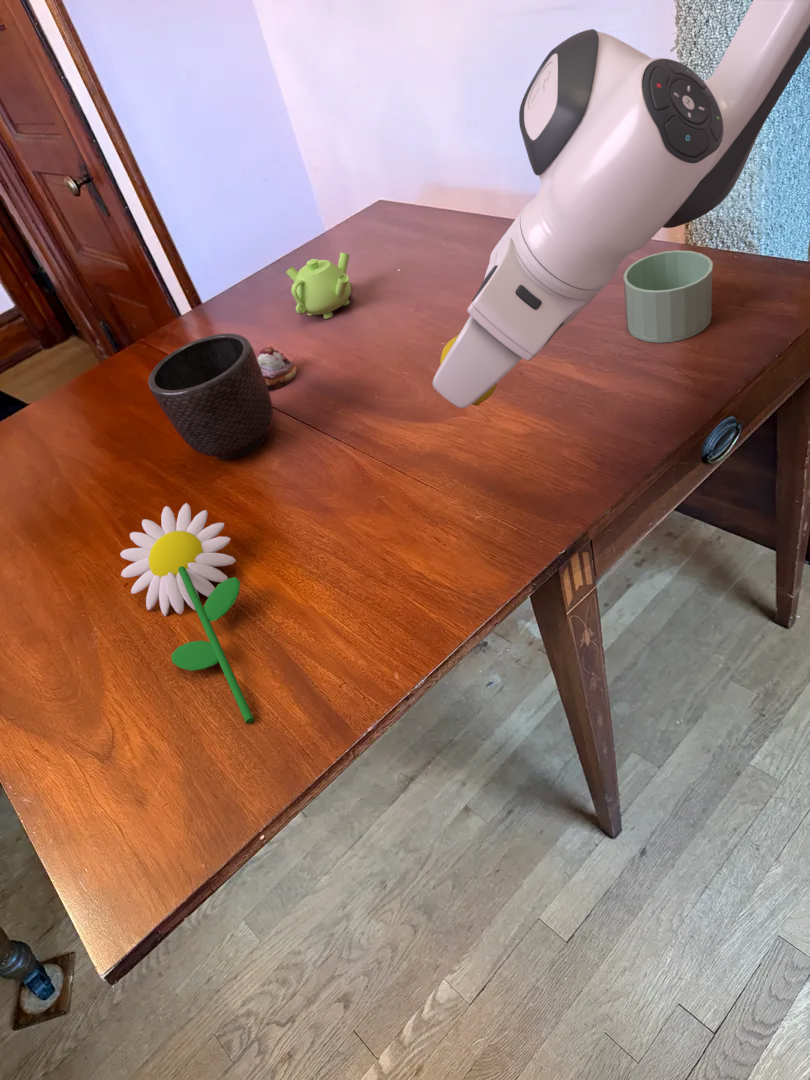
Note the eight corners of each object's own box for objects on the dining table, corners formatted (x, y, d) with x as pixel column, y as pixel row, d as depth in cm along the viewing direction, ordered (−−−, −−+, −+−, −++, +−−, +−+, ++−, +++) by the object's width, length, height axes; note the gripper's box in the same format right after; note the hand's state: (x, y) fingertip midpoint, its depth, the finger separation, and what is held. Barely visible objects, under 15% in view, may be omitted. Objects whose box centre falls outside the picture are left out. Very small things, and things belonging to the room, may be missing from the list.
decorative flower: (320, 696, 71) (219, 510, 90) (302, 673, 67) (201, 484, 86) (202, 771, 69) (125, 565, 88) (177, 751, 66) (102, 541, 84)
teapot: (295, 332, 124) (276, 285, 118) (298, 301, 132) (281, 256, 126) (359, 314, 122) (343, 265, 116) (359, 284, 131) (344, 237, 125)
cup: (729, 312, 95) (731, 260, 90) (672, 351, 92) (671, 299, 88) (664, 293, 102) (663, 244, 98) (610, 329, 99) (606, 280, 95)
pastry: (306, 367, 114) (295, 338, 111) (276, 396, 110) (263, 367, 107) (269, 362, 118) (256, 335, 115) (238, 390, 114) (225, 362, 111)
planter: (250, 479, 96) (207, 396, 88) (173, 470, 103) (125, 391, 94) (305, 414, 104) (270, 332, 96) (229, 409, 111) (190, 332, 102)
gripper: (558, 189, 66) (479, 291, 78) (466, 309, 55) (389, 409, 66) (611, 235, 67) (525, 330, 79) (532, 363, 56) (445, 453, 67)
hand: (462, 367), depth 72 cm, fingers closed on lemon, 5 cm apart
